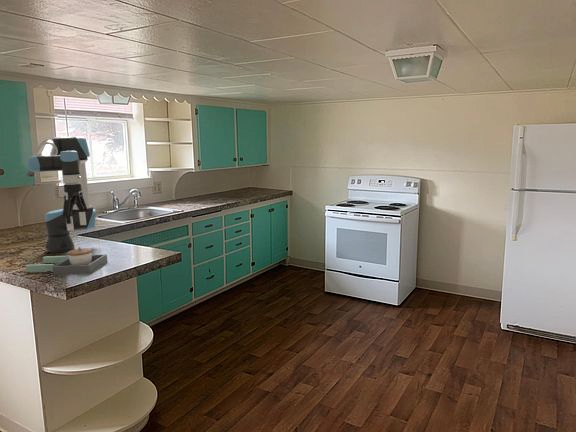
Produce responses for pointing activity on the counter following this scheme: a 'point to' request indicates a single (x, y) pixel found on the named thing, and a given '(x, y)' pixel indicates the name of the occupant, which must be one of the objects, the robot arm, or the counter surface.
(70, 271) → the tray
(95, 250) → the counter surface
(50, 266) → the rail holder
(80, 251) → the white round bowl
